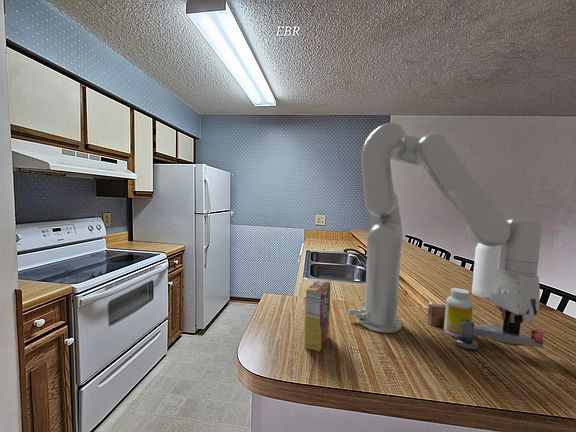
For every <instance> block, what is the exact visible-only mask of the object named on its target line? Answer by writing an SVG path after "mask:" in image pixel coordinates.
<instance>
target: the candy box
mask: <svg viewBox="0 0 576 432" xmlns="http://www.w3.org/2000/svg"><path fill="white" fill-rule="evenodd" d="M330 308H331V282H330V281H325V280H316V281H315V282H314V283H313V284H311V285H310V286H309V287H307V288H306V289H305V319H304V320H305V322H304V323H305V324H304V325H305V326H304V327H305V328H304V348H305V349H307V350H310V351H315V352H318V353H319V352H321V350H322V349H323V347H324V345H325V343H327V342H326V341H327V340H328V339H329V337H330V321H331V320H330V319H331V318H330V317H331V315H330V313H331V312H330V311H331V309H330Z"/></svg>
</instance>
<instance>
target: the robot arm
mask: <svg viewBox="0 0 576 432" xmlns="http://www.w3.org/2000/svg"><path fill="white" fill-rule="evenodd" d="M360 156H361V158H360V163H361V165H360V166H361V175H362V185H363V194H364V205H365V209H366V210H367V212H368V213H369V218H370V225H371V228H370V229H369V231H368V234H367V237H366V276H365V290H364V292H365V293H364V305H363V304H362V305H361V307H360V308H359V307H358V308H357V309H356V308H348V316H354V318H355V319H358V322H359V324H360V325H361V326H363V327H365V328H366V329H368V330H369V331H370V330H371V331H374V332H378V333H383V334H391V333H392V334H394V333H397V332H399V331H401V330H402V327H403V325H402V321H401V320H400V319H398V318H397V317H398V316H397V315H398V304H399V303H398V302H399V288H400V287H399V286H400V272H401V254H402V253H401V252H402V247H403V246H402V242H403V226H402V220H401V212H400V203H399V198H398V196H397V194H396V192H395V189H394V183H393V173H392V166H391V160H393V161H396V162H402V163H406V164H409V165H415V166H419V167H424V169H425V171H426V172H427V175H429V177H430V178H431V180H432V182H433V183H434V185H435V186H436V188H437V189H438V191H439V193H440V194H441V195H442V196H443V198H445V199H446V200H448V201H449V202H450V203H451V204H452V205H453V207H454V208H455V209H456V210H457V211H458V213H459V214H460V215H461V217H462V219H464V222H465V223H466V229H465V230H466V233H467V235H468V236H469V238H470V239H472V240H474V241H475V242H476V243H481V244H483V245H485V246H490V247H495V246H497V247H498V246H500V253H499V254H500V255H499V258H498V259H499V260H498V261H499V262H498V263H499V264H498V266H497V269H496V272H495V274H494V278H493V282H492V287H491V294H490V299H489V300H490V301H491V302H492V303H493V305H495V307H496V308H498V309H499V310H500V312H501V318H502V319H503V323H502V325H503V326H502V327H503V331H504V332H509V333H515V334H521V333H520V330H521V324H524V322H528V323H534V322H535V316H538V313H539V309H540V300H541V299H540V295H541V294H540V292H541V291H540V289H541V287H540V281H539V280H540V279H539V275H538V269H539V268H538V267H539V259H540V258H539V257H540V249H541V241H542V240H541V239H542V232H543V225H542V223H541V221H540V220H538V219H532V218H518V217H509V218H506V217H505V216H504V214H503V213H502V212H501V210H500V208H499V207H498V205H496V203H495V202H494V200H493V198H492V197H491V196H490V195H489V194H488V193H487V191H486V190H485V189H484V188H483V187H482V186H481V184H480V183H479V181H478V180H477V179H476V178H475V177H474V176H473V175H472V173H471V172H470V170H469V169H468V167H467V166H466V164H465V163H464V162H463V160H462V159H461V157H460V156H459V154H458V153H457V151H456V150H455V148H454V147H453V144H451V142H450V141H449V140H448V138H447V137H446V136H445V135H443V134H441V133H439V132H431V133H428V134H425V135H423V136H422V137H419V136H418V137H417V136H412V135H407V134H406V131H405V130H404V128H403V126H401V125H399V124H398V123H394V122H387V123H383V124H382V125H379V126H378V127H377V128H375V129H374V130H373V131H372V132H371V133H370V134H369V135H368V137H367V138H366V139H365V141H364V144H363V146H362V150H361V155H360Z"/></svg>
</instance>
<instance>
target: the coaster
mask: <svg viewBox="0 0 576 432" xmlns="http://www.w3.org/2000/svg"><path fill="white" fill-rule="evenodd" d="M477 327H482V328H488V329H493V330H498V331H503V326H499V325H495V324H489V323H485V324H483V323H482V324H479V325H477ZM519 334H520V335H522V334H521V333H519ZM489 339H490V340H493V341H496V342H500V343H503V344H508V345H519V344H518V343H512V342H507V341H502V340H497V339H492V338H489Z"/></svg>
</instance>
